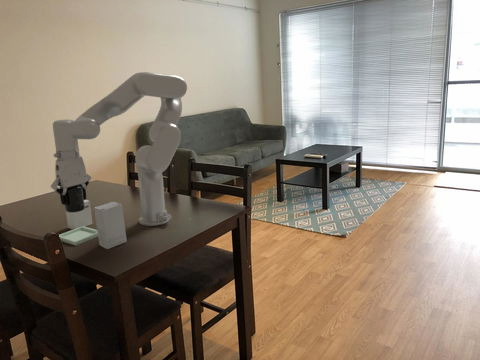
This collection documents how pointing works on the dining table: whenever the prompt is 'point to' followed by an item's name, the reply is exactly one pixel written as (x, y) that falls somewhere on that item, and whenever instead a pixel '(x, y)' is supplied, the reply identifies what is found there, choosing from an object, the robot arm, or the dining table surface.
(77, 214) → the unit
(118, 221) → the skincare box
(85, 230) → the tray
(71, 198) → the supplement bottle
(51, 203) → the dining table surface
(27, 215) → the dining table surface
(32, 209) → the dining table surface
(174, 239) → the dining table surface
